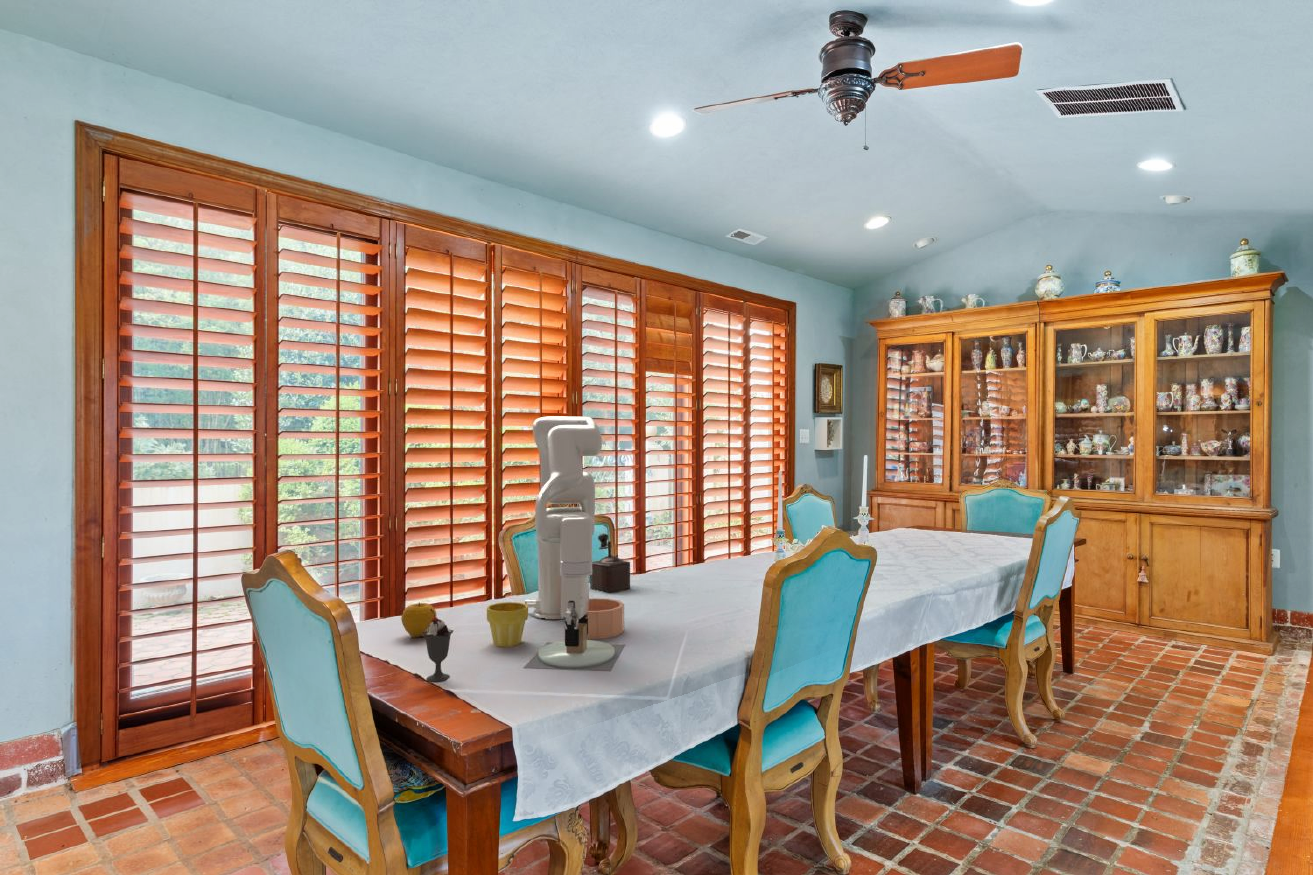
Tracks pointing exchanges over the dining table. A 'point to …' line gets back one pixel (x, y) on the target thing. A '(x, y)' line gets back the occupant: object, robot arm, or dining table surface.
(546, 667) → the mat
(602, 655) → the lid
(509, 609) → the plant pot
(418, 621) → the apple
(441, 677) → the sundae
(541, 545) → the robot arm
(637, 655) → the dining table surface
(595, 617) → the bowl
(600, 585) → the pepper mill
